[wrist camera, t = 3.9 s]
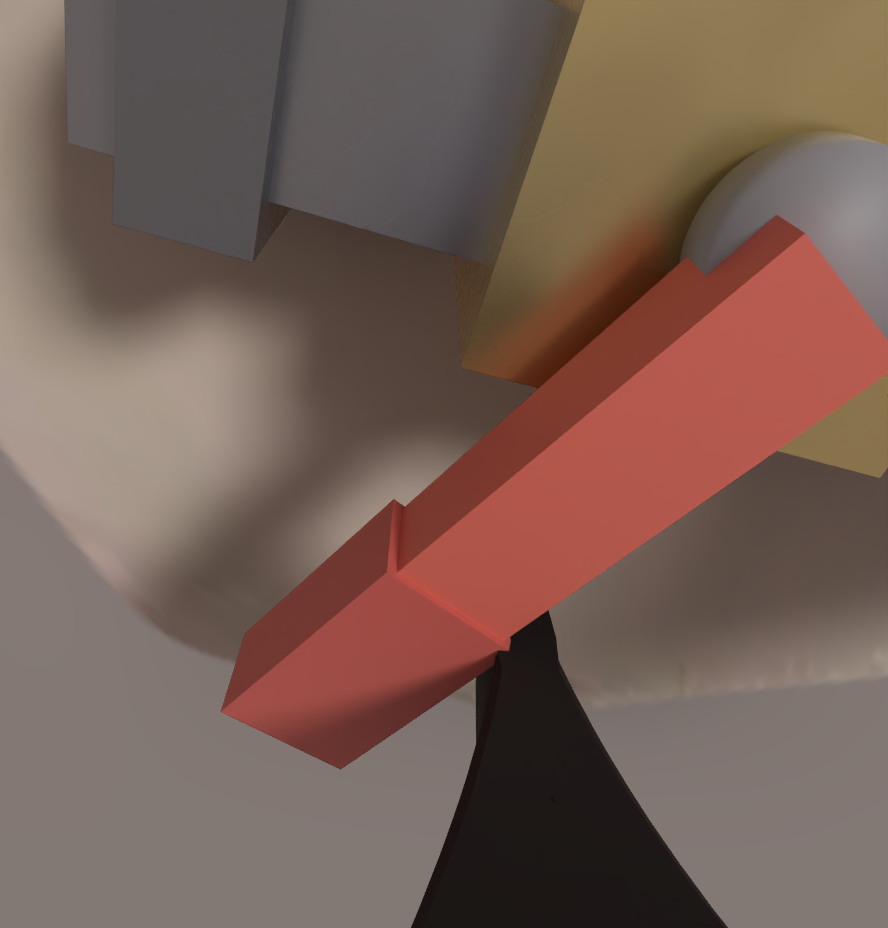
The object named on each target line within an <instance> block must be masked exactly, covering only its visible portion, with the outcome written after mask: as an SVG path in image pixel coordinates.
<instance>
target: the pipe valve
mask: <svg viewBox="0 0 888 928" xmlns="http://www.w3.org/2000/svg"><path fill="white" fill-rule="evenodd" d="M64 4H65V50H66V95H67V141H68V143H70V144H73V145H76V146H80V147H83V148H87V149H90V150H94V151H97V152H101V153H104V154H107V155H111V156H114V177H113V224H115V225H119V226H122V227H126V228H130V229H133V230H137V231H140V232H144V233H148V234H151V235H155V236H159V237H162V238H166V239H170V240H173V241H177V242H180V243H184V244H188V245H191V246H195V247H199V248H202V249H206V250H209V251H213V252H217V253H220V254H224V255H228V256H231V257H235V258H238V259H242V260H246V261H249V262H253V261H254V260H255V258H256V257H257V255H258V254H259V253H260V251H261V250H262V248H263V247H264V246H265V244H266V243H267V241H268V240H269V239H270V237H271V236H272V234H273V233H274V231H275V230H276V229H277V227H278V226H279V224H280V223H281V222H282V220H283V219H284V217H285V216H286V215H287V213H288V212H289V210H290V209H291V208H293V209H296V210H300V211H303V212H307V213H310V214H314V215H317V216H320V217H324V218H327V219H331V220H334V221H338V222H341V223H344V224H348V225H351V226H355V227H358V228H362V229H365V230H369V231H372V232H375V233H379V234H382V235H386V236H389V237H393V238H396V239H399V240H403V241H406V242H410V243H413V244H417V245H420V246H424V247H427V248H430V249H434V250H437V251H441V252H444V253H448V254H451V255H454V256H455V267H456V286H457V306H458V325H459V345H460V364H461V368H464V369H467V370H471V371H475V372H479V373H483V374H486V375H490V376H494V377H498V378H502V379H505V380H509V381H513V382H517V383H521V384H524V385H528V386H532V387H536V388H540V387H541V386H542V385H543V384H544V383H545V382H546V381H548V380H549V379H550V378H551V377H552V376H553V375H554V374H556V373H557V372H558V371H559V370H560V369H561V368H562V367H563V366H565V365H566V364H567V363H568V362H569V361H570V360H571V359H572V358H574V357H575V356H576V355H577V354H578V353H579V352H580V351H581V350H583V349H584V348H585V347H586V346H587V345H588V344H589V343H590V342H592V341H593V340H594V339H595V338H596V337H597V336H598V335H599V334H601V333H602V332H603V331H604V330H605V329H606V328H607V327H608V326H610V325H611V324H612V323H613V322H614V321H615V320H616V319H617V318H619V317H620V316H621V315H622V314H623V313H624V312H625V311H627V310H628V309H629V308H630V307H631V306H632V305H633V304H634V303H636V302H637V301H638V300H639V299H640V298H641V297H642V296H643V295H645V294H646V293H647V292H648V291H649V290H650V289H651V288H652V287H654V286H655V285H656V284H657V283H658V282H659V281H660V280H661V279H663V278H664V277H665V276H666V275H667V274H668V273H669V272H670V271H672V270H673V269H674V268H675V267H676V266H677V265H678V264H679V263H680V256H681V252H682V247H683V243H684V240H685V237H686V235H687V232H688V229H689V227H690V225H691V223H692V221H693V219H694V217H695V215H696V213H697V211H698V210H699V208H700V206H701V205H702V203H703V202H704V200H705V199H706V197H707V196H708V195H709V194H710V192H711V191H712V190H713V189H714V187H715V186H716V185H717V184H718V183H719V182H720V181H721V180H722V179H723V178H724V177H725V176H726V175H727V174H728V173H729V172H730V171H731V170H732V169H734V168H735V167H736V166H737V165H739V164H740V163H741V162H742V161H744V160H745V159H747V158H748V157H750V156H751V155H753V154H754V153H756V152H757V151H759V150H761V149H763V148H765V147H767V146H769V145H771V144H773V143H775V142H777V141H780V140H783V139H785V138H788V137H791V136H795V135H799V134H803V133H808V132H817V131H840V132H846V133H851V134H855V135H858V136H861V137H864V138H867V139H870V140H873V141H876V142H879V143H882V144H885V145H888V0H64ZM777 451H779V452H783V453H786V454H790V455H794V456H798V457H801V458H805V459H809V460H813V461H817V462H820V463H824V464H828V465H832V466H836V467H839V468H843V469H847V470H851V471H855V472H858V473H862V474H866V475H870V476H874V477H877V478H880V477H881V476H882V475H883V473H884V472H885V471H886V470H887V468H888V374H887V375H885V376H884V377H882V378H881V379H879V380H878V381H876V382H875V383H874V384H872V385H871V386H869V387H868V388H866V389H865V390H864V391H862V392H861V393H859V394H858V395H856V396H855V397H854V398H852V399H851V400H849V401H848V402H846V403H845V404H843V405H842V406H841V407H839V408H838V409H836V410H835V411H833V412H832V413H831V414H829V415H828V416H826V417H825V418H823V419H822V420H820V421H819V422H818V423H816V424H815V425H813V426H812V427H810V428H809V429H808V430H806V431H805V432H803V433H802V434H800V435H799V436H797V437H796V438H795V439H793V440H792V441H790V442H789V443H787V444H786V445H785V446H783V447H782V448H780V449H779V450H777Z"/></svg>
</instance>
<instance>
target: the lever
mask: <svg viewBox="0 0 888 928" xmlns="http://www.w3.org/2000/svg"><path fill="white" fill-rule="evenodd" d="M887 374H888V145H885V144H882V143H879V142H876V141H873V140H870V139H867V138H864V137H861V136H858V135H855V134H851V133H846V132H840V131H817V132H808V133H803V134H799V135H795V136H791V137H788V138H785V139H783V140H780V141H777V142H775V143H773V144H771V145H769V146H767V147H765V148H763V149H761V150H759V151H757V152H756V153H754V154H753V155H751V156H750V157H748V158H747V159H745V160H744V161H742V162H741V163H740V164H739V165H737V166H736V167H735V168H734V169H732V170H731V171H730V172H729V173H728V174H727V175H726V176H725V177H724V178H723V179H722V180H721V181H720V182H719V183H718V184H717V185H716V186H715V187H714V189H713V190H712V191H711V192H710V194H709V195H708V196H707V197H706V199H705V200H704V202H703V203H702V205H701V206H700V208H699V210H698V211H697V213H696V215H695V217H694V219H693V221H692V223H691V225H690V227H689V229H688V232H687V235H686V237H685V240H684V243H683V247H682V252H681V256H680V263H679V264H678V265H677V266H676V267H675V268H674V269H673V270H672V271H670V272H669V273H668V274H667V275H666V276H665V277H664V278H663V279H661V280H660V281H659V282H658V283H657V284H656V285H655V286H654V287H652V288H651V289H650V290H649V291H648V292H647V293H646V294H645V295H643V296H642V297H641V298H640V299H639V300H638V301H637V302H636V303H634V304H633V305H632V306H631V307H630V308H629V309H628V310H627V311H625V312H624V313H623V314H622V315H621V316H620V317H619V318H617V319H616V320H615V321H614V322H613V323H612V324H611V325H610V326H608V327H607V328H606V329H605V330H604V331H603V332H602V333H601V334H599V335H598V336H597V337H596V338H595V339H594V340H593V341H592V342H590V343H589V344H588V345H587V346H586V347H585V348H584V349H583V350H581V351H580V352H579V353H578V354H577V355H576V356H575V357H574V358H572V359H571V360H570V361H569V362H568V363H567V364H566V365H565V366H563V367H562V368H561V369H560V370H559V371H558V372H557V373H556V374H554V375H553V376H552V377H551V378H550V379H549V380H548V381H546V382H545V383H544V384H543V385H542V386H541V387H540V388H539V389H537V390H536V391H535V392H534V393H533V394H532V395H531V396H530V397H528V398H527V399H526V400H525V401H524V402H523V403H522V404H521V405H519V406H518V407H517V408H516V409H515V410H514V411H513V412H512V413H510V414H509V415H508V416H507V417H506V418H505V419H504V420H503V421H501V422H500V423H499V424H498V425H497V426H496V427H495V428H494V429H492V430H491V431H490V432H489V433H488V434H487V435H486V436H484V437H483V438H482V439H481V440H480V441H479V442H478V443H477V444H475V445H474V446H473V447H472V448H471V449H470V450H469V451H468V452H466V453H465V454H464V455H463V456H462V457H461V458H460V459H459V460H457V461H456V462H455V463H454V464H453V465H452V466H451V467H450V468H448V469H447V470H446V471H445V472H444V473H443V474H442V475H441V476H439V477H438V478H437V479H436V480H435V481H434V482H433V483H432V484H430V485H429V486H428V487H427V488H426V489H425V490H424V491H422V492H421V493H420V494H419V495H418V496H417V497H416V498H415V499H413V500H412V501H411V502H410V503H409V504H408V505H407V506H406V507H404V506H403V505H401V504H400V503H399V502H397V501H396V500H394V499H393V500H392V501H391V502H390V503H389V504H388V505H387V506H386V507H385V508H383V509H382V510H381V511H380V512H379V513H378V514H377V515H376V516H375V517H373V518H372V519H371V520H370V521H369V522H368V523H367V524H366V525H365V526H364V527H362V528H361V529H360V530H359V531H358V532H357V533H356V534H355V535H354V536H352V537H351V538H350V539H349V540H348V541H347V542H346V543H345V544H344V545H343V546H341V547H340V548H339V549H338V550H337V551H336V552H335V553H334V554H333V555H331V556H330V557H329V558H328V559H327V560H326V561H325V562H324V563H323V564H322V565H320V566H319V567H318V568H317V569H316V570H315V571H314V572H313V573H312V574H310V575H309V576H308V577H307V578H306V579H305V580H304V581H303V582H302V583H300V584H299V585H298V586H297V587H296V588H295V589H294V590H293V591H292V592H291V593H289V594H288V595H287V596H286V597H285V598H284V599H283V600H282V601H281V602H279V603H278V604H277V605H276V606H275V607H274V608H273V609H272V610H271V611H270V612H268V613H267V614H266V615H265V616H264V617H263V618H262V619H261V620H260V621H258V622H257V623H256V624H255V625H254V626H253V627H252V628H251V629H250V630H249V631H247V632H246V633H245V635H244V638H243V641H242V644H241V648H240V651H239V654H238V657H237V661H236V664H235V667H234V670H233V674H232V677H231V680H230V684H229V687H228V690H227V693H226V697H225V700H224V703H223V706H222V709H221V712H222V713H224V714H226V715H228V716H230V717H232V718H234V719H237V720H239V721H241V722H243V723H245V724H247V725H249V726H251V727H253V728H255V729H257V730H259V731H262V732H264V733H266V734H268V735H270V736H272V737H274V738H276V739H278V740H281V741H282V742H285V743H287V744H289V745H291V746H293V747H295V748H297V749H299V750H301V751H304V752H305V753H307V754H310V755H312V756H314V757H316V758H318V759H320V760H322V761H324V762H326V763H328V764H330V765H332V766H335V767H337V768H339V769H342V768H343V767H345V766H346V765H348V764H349V763H351V762H352V761H354V760H355V759H357V758H358V757H360V756H361V755H362V754H364V753H365V752H367V751H368V750H370V749H371V748H373V747H374V746H375V745H377V744H379V743H380V742H381V741H383V740H385V739H386V738H387V737H389V736H390V735H392V734H393V733H395V732H396V731H398V730H399V729H401V728H402V727H404V726H405V725H407V724H408V723H409V722H411V721H412V720H414V719H415V718H417V717H418V716H420V715H421V714H423V713H424V712H426V711H427V710H429V709H430V708H431V707H433V706H434V705H436V704H437V703H439V702H440V701H442V700H443V699H445V698H446V697H448V696H449V695H451V694H452V693H454V692H455V691H457V690H458V689H459V688H461V687H462V686H464V685H465V684H467V683H468V682H470V681H471V680H473V679H474V678H476V677H477V676H479V675H480V674H481V673H483V672H484V671H486V670H487V669H489V668H490V667H492V666H493V665H494V662H495V656H496V655H497V653H498V650H502V651H509V647H510V642H511V639H510V636H512V635H513V634H515V633H516V632H517V631H519V630H520V629H522V628H523V627H525V626H526V625H527V624H529V623H530V622H532V621H533V620H535V619H536V618H537V617H539V616H540V615H542V614H543V613H545V612H546V611H548V610H549V609H550V608H552V607H553V606H555V605H556V604H558V603H559V602H560V601H562V600H563V599H565V598H566V597H568V596H569V595H571V594H572V593H573V592H575V591H576V590H578V589H579V588H581V587H582V586H583V585H585V584H586V583H588V582H589V581H591V580H592V579H594V578H595V577H596V576H598V575H599V574H601V573H602V572H604V571H605V570H606V569H608V568H609V567H611V566H612V565H614V564H615V563H616V562H618V561H619V560H621V559H622V558H624V557H625V556H627V555H628V554H629V553H631V552H632V551H634V550H635V549H637V548H638V547H639V546H641V545H642V544H644V543H645V542H647V541H648V540H650V539H651V538H652V537H654V536H655V535H657V534H658V533H660V532H661V531H662V530H664V529H665V528H667V527H668V526H670V525H671V524H673V523H674V522H675V521H677V520H678V519H680V518H681V517H683V516H684V515H685V514H687V513H688V512H690V511H691V510H693V509H694V508H696V507H697V506H698V505H700V504H701V503H703V502H704V501H706V500H707V499H708V498H710V497H711V496H713V495H714V494H716V493H717V492H718V491H720V490H721V489H723V488H724V487H726V486H727V485H729V484H730V483H731V482H733V481H734V480H736V479H737V478H739V477H740V476H741V475H743V474H744V473H746V472H747V471H749V470H750V469H752V468H753V467H754V466H756V465H757V464H759V463H760V462H762V461H763V460H764V459H766V458H767V457H769V456H770V455H772V454H773V453H775V452H776V451H777V450H779V449H780V448H782V447H783V446H785V445H786V444H787V443H789V442H790V441H792V440H793V439H795V438H796V437H797V436H799V435H800V434H802V433H803V432H805V431H806V430H808V429H809V428H810V427H812V426H813V425H815V424H816V423H818V422H819V421H820V420H822V419H823V418H825V417H826V416H828V415H829V414H831V413H832V412H833V411H835V410H836V409H838V408H839V407H841V406H842V405H843V404H845V403H846V402H848V401H849V400H851V399H852V398H854V397H855V396H856V395H858V394H859V393H861V392H862V391H864V390H865V389H866V388H868V387H869V386H871V385H872V384H874V383H875V382H876V381H878V380H879V379H881V378H882V377H884V376H885V375H887Z"/></svg>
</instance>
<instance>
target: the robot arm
mask: <svg viewBox="0 0 888 928" xmlns="http://www.w3.org/2000/svg"><path fill="white" fill-rule="evenodd" d="M510 639H511V642H510V647H509V651H502V650H498V653H497V655H496V656H495V662H494V665H493V666H492V667H490V668H489V669H487V670H486V671H484V672H483V673H481V674H480V675H479V676H477V677H476V746H475V750H474V753H473V757H472V760H471V764H470V767H469V771H468V775H467V778H466V781H465V784H464V787H463V791H462V793H461V796H460V799H459V803H458V805H457V808H456V811H455V814H454V817H453V820H452V823H451V826H450V828H449V831H448V834H447V837H446V840H445V842H444V845H443V848H442V851H441V853H440V856H439V859H438V861H437V864H436V866H435V869H434V872H433V874H432V877H431V879H430V882H429V885H428V887H427V889H426V892H425V895H424V897H423V900H422V902H421V905H420V907H419V910H418V912H417V914H416V917H415V919H414V922H413V924H412V927H411V928H728V927H727V926H726V925H725V923H724V922H723V921H722V920H721V919H720V917H719V916H718V915H717V913H716V912H715V911H714V910H713V908H712V907H711V906H710V904H709V903H708V902H707V900H706V899H705V898H704V896H703V895H702V894H701V892H700V891H699V889H698V888H697V887H696V885H695V884H694V883H693V882H692V880H691V878H690V877H689V876H688V874H687V873H686V872H685V870H684V869H683V868H682V866H681V865H680V864H679V862H678V861H677V859H676V858H675V856H674V855H673V854H672V852H671V851H670V849H669V848H668V846H667V845H666V843H665V842H664V841H663V839H662V838H661V836H660V835H659V833H658V832H657V831H656V829H655V828H654V826H653V825H652V823H651V822H650V820H649V819H648V817H647V816H646V814H645V812H644V811H643V809H642V808H641V806H640V805H639V803H638V802H637V800H636V799H635V797H634V795H633V794H632V792H631V791H630V789H629V788H628V786H627V784H626V783H625V781H624V779H623V778H622V776H621V774H620V773H619V771H618V769H617V768H616V766H615V765H614V763H613V761H612V760H611V758H610V756H609V755H608V753H607V751H606V750H605V748H604V746H603V744H602V743H601V741H600V739H599V738H598V736H597V734H596V732H595V730H594V728H593V727H592V725H591V723H590V721H589V719H588V717H587V715H586V713H585V712H584V710H583V708H582V706H581V704H580V702H579V700H578V699H577V697H576V695H575V693H574V691H573V689H572V687H571V685H570V683H569V681H568V679H567V677H566V675H565V673H564V671H563V669H562V667H561V665H560V663H559V660H558V652H557V643H556V636H555V633H554V629H553V625H552V621H551V618H550V615H549V611H546V612H545V613H543V614H542V615H540V616H539V617H537V618H536V619H535V620H533V621H532V622H530V623H529V624H527V625H526V626H525V627H523V628H522V629H520V630H519V631H517V632H516V633H515V634H513V635H512V636H510Z"/></svg>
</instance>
